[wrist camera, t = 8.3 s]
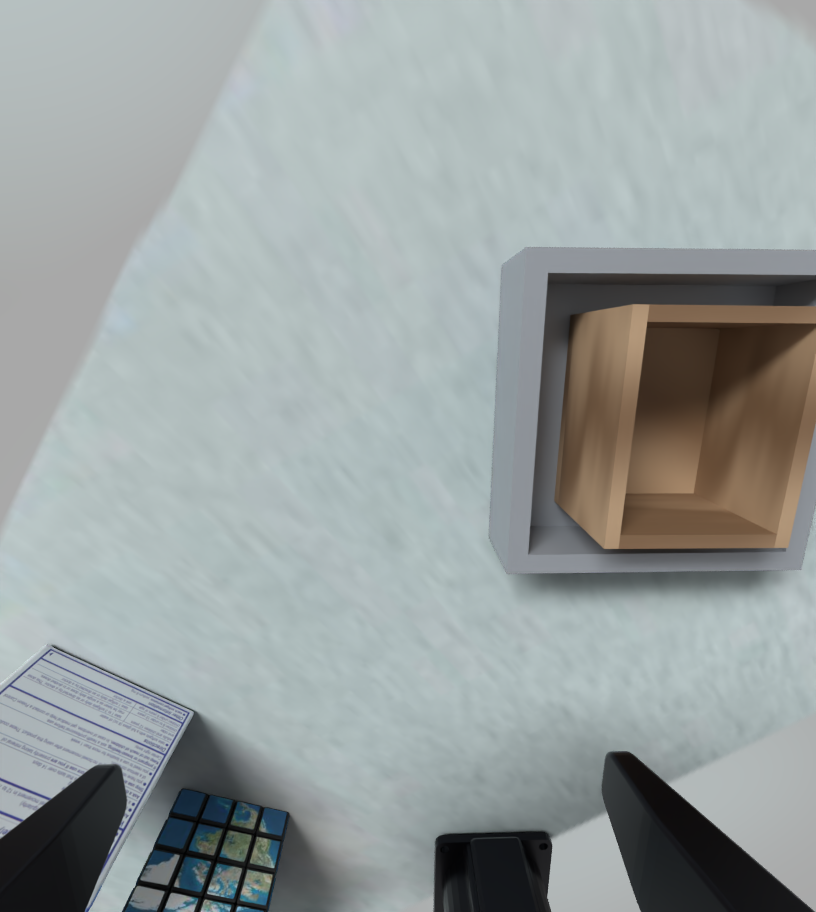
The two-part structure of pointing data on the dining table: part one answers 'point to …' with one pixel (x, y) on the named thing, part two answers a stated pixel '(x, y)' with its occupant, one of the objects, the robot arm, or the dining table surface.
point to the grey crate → (543, 376)
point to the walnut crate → (687, 424)
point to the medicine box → (80, 737)
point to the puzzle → (211, 858)
